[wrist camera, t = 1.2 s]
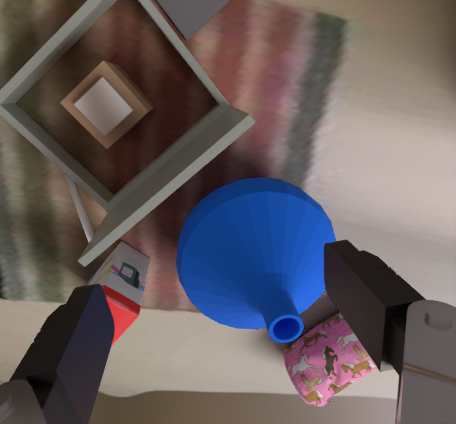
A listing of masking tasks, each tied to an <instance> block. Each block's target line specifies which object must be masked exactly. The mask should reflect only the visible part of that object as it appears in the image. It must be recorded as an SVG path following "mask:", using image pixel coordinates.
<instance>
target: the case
mask: <svg viewBox="0 0 456 424" xmlns="http://www.w3.org/2000/svg"><path fill="white" fill-rule="evenodd" d="M116 1H117V0H87V1H86V2H85V3H84V4H83V5H82V7H81V8H80V9H79V10H78V11H77V12H76V13H75V14H74V15H73V16H72V17H71V18H70V19H69V20H68V21H67V22H66V23H65V24H64V25H63V26H62V27H61V28H60V29H59V30H58V31H57V32H56V33H55V34H54V35H53V36H52V37H51V38H50V39H49V40H48V42H47V43H46V44H45V45H44V46H43V47H42V48H41V49H40V50H39V51H38V52H37V53H36V54H35V55H34V56H33V57H32V58H31V59H30V60H29V61H28V62H27V63H26V64H25V65H24V66H23V67H22V68H21V69H20V70H19V71H18V72H17V73H16V74H15V75H14V77H13V78H12V79H11V80H10V81H9V82H8V83H7V84H6V85H5V86H4V87H3V88H2V89H1V90H0V115H1V116H2V117H3V118H4V119H5V120H6V121H7V122H8V123H10V124H11V125H12V126H13V127H14V128H15V129H16V130H17V131H18V132H20V133H21V134H22V135H23V136H24V137H25V138H26V139H27V140H28V141H30V142H31V143H32V144H33V145H34V146H35V147H36V148H37V149H38V150H40V151H41V152H42V153H43V154H44V155H45V156H46V157H47V158H48V159H50V160H51V161H52V162H53V163H54V164H55V165H56V166H57V167H58V168H60V169H61V170H62V171H63V173H64V176H65V179H66V181H67V184H68V187H69V190H70V193H71V195H72V198H73V201H74V204H75V206H76V209H77V212H78V215H79V217H80V220H81V223H82V226H83V228H84V231H85V234H86V237H87V240H88V242H89V244H88V245H87V247H86V248H85V250H84V251H83V253H82V255H81V256H80V258H79V259H78V262H79V263H80V264H82V265H83V266H84V267H86V266H87V265H88V264H89V263H90V262H92V261H93V260H94V259H95V258H96V257H97V256H99V255H100V254H101V253H102V252H103V251H105V250H106V249H107V248H108V247H109V246H110V245H112V244H113V243H114V242H115V241H116V240H118V239H119V238H120V237H121V236H122V235H123V234H125V233H126V232H127V231H128V230H129V229H131V228H132V227H133V226H134V225H135V224H136V223H138V222H139V221H140V220H141V219H142V218H144V217H145V216H146V215H147V214H148V213H149V212H151V211H152V210H153V209H154V208H155V207H157V206H158V205H159V204H160V203H161V202H162V201H164V200H165V199H166V198H167V197H168V196H170V195H171V194H172V193H173V192H174V191H175V190H177V189H178V188H179V187H180V186H181V185H183V184H184V183H185V182H186V181H187V180H188V179H190V178H191V177H192V176H193V175H194V174H196V173H197V172H198V171H199V170H200V169H202V168H203V167H204V166H205V165H206V164H207V163H209V162H210V161H211V160H212V159H213V158H215V157H216V156H217V155H218V154H219V153H220V152H222V151H223V150H224V149H225V148H226V147H228V146H229V145H230V144H231V143H232V142H233V141H235V140H236V139H237V138H238V137H239V136H241V135H242V134H243V133H244V132H245V131H246V130H248V129H249V128H250V127H251V126H252V125H254V124H255V123H256V122H255V121H254V120H253V118H252V117H251V115H250V114H248V113H246V112H243V111H241V110H239V109H236V108H234V107H232V106H230V105H229V103H228V102H227V101H226V99H225V98H224V97H223V95H222V94H221V93H220V91H219V90H218V89H217V87H216V86H215V85H214V84H213V82H212V81H211V80H210V78H209V77H208V76H207V74H206V73H205V72H204V70H203V69H202V68H201V67H200V65H199V64H198V63H197V61H196V60H195V59H194V57H193V56H192V55H191V53H190V52H189V51H188V49H187V48H186V47H185V46H184V44H183V43H182V42H181V40H180V39H179V38H178V36H177V35H176V34H175V32H174V31H173V30H172V29H171V27H170V26H169V25H168V23H167V22H166V21H165V19H164V18H163V17H162V15H161V14H160V13H159V11H158V10H157V9H156V8H155V6H154V5H153V4H152V2H151V1H150V0H137V1H138V2H139V3H140V4H141V6H142V7H143V8H144V10H145V11H146V12H147V13H148V15H149V16H150V17H151V19H152V20H153V21H154V22H155V24H156V25H157V26H158V28H159V29H160V30H161V31H162V33H163V34H164V35H165V36H166V38H167V39H168V40H169V42H170V43H171V44H172V45H173V47H174V48H175V49H176V51H177V52H178V53H179V54H180V56H181V57H182V58H183V60H184V61H185V62H186V63H187V65H188V66H189V67H190V69H191V70H192V71H193V72H194V74H195V75H196V76H197V78H198V79H199V80H200V81H201V83H202V84H203V85H204V87H205V88H206V89H207V90H208V92H209V93H210V94H211V96H212V97H213V98H214V99H215V101H216V102H217V103H218V104H217V105H216V106H214V107H213V108H212V109H211V110H210V111H209V112H208V113H206V114H205V115H204V116H203V117H202V118H201V119H200V120H198V121H197V122H196V123H195V124H194V125H193V126H192V127H190V128H189V129H188V130H187V131H186V132H185V133H184V134H182V135H181V136H180V137H179V138H178V139H177V140H176V141H175V142H173V143H172V144H171V145H170V146H169V147H168V148H167V149H165V150H164V151H163V152H162V153H161V154H160V155H159V156H157V157H156V158H155V159H154V160H153V161H152V162H151V163H149V164H148V165H147V166H146V167H145V168H144V169H143V170H141V171H140V172H139V173H138V174H137V175H136V176H135V177H134V178H132V179H131V180H130V181H129V182H128V183H127V184H126V185H124V186H123V187H122V188H121V189H120V190H119V191H118V192H116V193H115V194H114V195H113V194H112V193H111V192H110V191H109V190H108V189H107V188H106V187H105V186H103V185H102V184H101V183H100V182H99V181H98V180H97V179H96V178H95V177H94V176H93V175H92V174H91V173H90V172H88V171H87V170H86V169H85V168H84V167H83V166H82V165H81V164H80V163H79V162H78V161H77V160H76V159H75V158H73V157H72V156H71V155H70V154H69V153H68V152H67V151H66V150H65V149H64V148H63V147H62V146H61V145H60V144H59V143H57V142H56V141H55V140H54V139H53V138H52V137H51V136H50V135H49V134H48V133H47V132H46V131H45V130H44V129H42V128H41V127H40V126H39V125H38V124H37V123H36V122H35V121H34V120H33V119H32V118H31V117H30V116H29V115H27V114H26V113H25V112H24V111H23V110H22V109H21V108H20V107H19V106H18V105H17V104H16V102H17V101H18V100H19V99H20V98H21V97H22V96H23V95H24V94H25V93H26V92H27V91H28V90H29V89H30V88H31V87H32V86H33V85H34V84H35V83H36V82H37V81H38V80H39V79H40V78H41V77H42V76H43V75H44V74H45V73H46V72H47V71H48V70H49V69H50V68H51V67H52V66H53V65H54V64H55V63H56V62H57V61H58V60H59V59H60V58H61V57H62V56H63V55H64V54H65V53H66V52H67V51H68V50H69V49H70V48H71V47H72V46H73V45H74V44H75V43H76V42H77V41H78V40H79V39H80V38H81V37H82V36H83V35H84V34H85V33H86V32H87V31H88V30H89V29H90V28H91V27H92V25H93V24H94V23H95V22H96V21H97V20H98V19H99V18H100V17H101V16H102V15H103V14H104V13H105V12H106V11H107V10H108V9H109V8H110V7H111V6H112V5H113V4H114V3H115V2H116ZM76 184H77V185H78V186H80V187H81V188H82V189H83V190H84V191H85V192H86V193H87V194H88V195H90V196H91V197H92V198H93V199H94V200H95V201H96V202H97V203H98V204H100V205H101V206H102V207H103V208H104V209H105V210H106V211H107V212H108V214H107V215H106V217H105V218H104V220H103V221H102V223H101V225H100V226H99V228H98V229H97V231H96V233H94V231H93V228H92V225H91V223H90V220H89V217H88V215H87V212H86V210H85V207H84V204H83V202H82V199H81V196H80V194H79V191H78V189H77V186H76Z"/></svg>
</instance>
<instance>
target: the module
mask: <svg viewBox="0 0 456 424" xmlns="http://www.w3.org/2000/svg"><path fill="white" fill-rule="evenodd" d="M60 103H61V104H62V105H63V106H64V107H65V108H66V109H67V110H68V111H69V112H70V113H71V114H72V115H73V116H74V117H75V118H76V119H77V120H78V121H79V122H80V123H81V124H82V125H83V126H84V127H85V128H86V129H87V130H88V131H89V132H90V133H91V134H92V135H93V136H94V137H95V138H96V139H97V140H98V141H99V142H100V143H101V144H102V145H103V146H104V147H105V148H106V149H108V148H109V147H111V146H112V145H113V144H115V143H116V142H117V141H118V140H120V139H121V138H122V137H123V136H124V135H125V134H126V133H128V132H129V131H130V130H131V129H132V128H133V127H134V126H135V125H136V124H137V123H139V122H140V121H141V120H142V119H143V118H144V117H145V116H146V115H147V114H148V113H150V112H151V111H152V110H153V109H154V108H155V106H154V104H153V103H152V102H151V101H150V100H149V99H148V98H147V96H146V95H145V94H144V93H143V92H142V91H141V90H140V88H139V87H138V86H137V85H136V84H135V83H134V82H133V80H132V79H131V78H130V77H129V76H128V75H127V73H126V72H125V71H124V70H123V69H122V68H121V67H120V65H116V64H113V63H110V62H107V61H104V60H103V61H102V62H101V63H100V64H99V65H98V66H97V67H96V68H95V69H94V70H93V71H92V72H91V73H90V74H89V75H88V76H87V77H86V78H85V79H84V80H83V81H82V82H81V83H80V84H79V85H78V86H76V87H75V88H74V89H73V90H72V91H71V92H70V93H69V94H68V95H67V96H66V97H65V98H64V99H63V100H62V101H61V102H60Z"/></svg>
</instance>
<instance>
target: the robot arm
mask: <svg viewBox="0 0 456 424" xmlns="http://www.w3.org/2000/svg"><path fill="white" fill-rule="evenodd" d="M324 284H325V288H326V291H327V293H328V295H329V297H330V298H331V300H332V301H333V303H334V304H335V306H336V307H337V309H338V310H339V312H340V313H341V315H342V316H343V318H344V319H345V321H346V322H347V324H348V325H349V327H350V328H351V329H352V331H353V332H354V334H355V335H356V337H357V338H358V340H359V341H360V343H361V344H362V346H363V347H364V349H365V350H366V352H367V353H368V355H369V356H370V358H371V359H372V360H373V362H374V363H375V365H376V366H377V368H378V369H379V371H380V372H382V371H386V370H391V369H395V370H396V372H397V373H398V375H399V382H398V394H397V406H396V417H395V424H456V307H454V306H452V305H449V304H447V303H444V302H440V301H434V300H426V299H425V298H424V297H423V296H421V295H420V294H419V293H418V292H417V291H416V290H415V289H414V288H412V287H411V286H410V285H409V284H408V283H407V282H406V281H405V280H403V279H402V278H401V277H400V276H399V275H396V272H394V271H393V270H392V269H391V268H390V267H388V265H387V264H385V263H384V262H383V261H382V260H381V259H380V258H379V257H377V256H375V255H373V254H371V253H369V252H366V251H364V250H363V251H358V250H357V249H356V248H355V247H354V246H353V245H352V244H351V243H350V242H349V241H348V240H341V241H335V242H330V243H325V245H324ZM40 330H41V331H40V332H39V333H38V334H37V336H36V337H35V339H34V343H32V344H31V346H30V347H29V349H28V351H27V352H26V354H25V356H24V357H23V359H22V361H21V362H20V364H19V365H18V367H17V369H16V370H15V372H14V374H13V375H12V377H11V379H10V380H9V381H8V382H5V383H3V384H1V385H0V424H88V423H89V420H90V416H91V413H92V409H93V406H94V403H95V399H96V396H97V393H98V389H99V386H100V382H101V379H102V376H103V372H104V369H105V365H106V362H107V359H108V355H109V352H110V348H111V345H112V342H113V338H114V333H115V325H114V319H113V316H112V313H111V310H110V307H109V304H108V302H107V299H106V296H105V293H104V290H103V288H102V286H101V285H100V284H92V285H87V286H81V287H76V288H75V289H74V290H73V292H72V294H71V296H70V297H69V299H68V301H67V303H66V304H64V305H60V306H59V307H58V308H57V309H56V310H55V311H54V312H53V313H52V314H51V315H50V316H48V318H47V319H46V321H45V323H44V324H43V326H42V328H41V329H40Z"/></svg>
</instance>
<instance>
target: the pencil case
mask: <svg viewBox="0 0 456 424" xmlns="http://www.w3.org/2000/svg"><path fill="white" fill-rule="evenodd" d="M283 352H284V360H285V366H286V369H287V372H288V374H289V376H290V379H291V381H292V383H293V385H294V386H295V388H296V390H297V392H298V393H299V395H300V396H301V398H302V399H303V400H304V401H305V402H306V403H308V404H311V405H316V406H324V405H325V404H326V403H328V404H330V403H331V402H332V397H333V395H334V394H336V393H338V392H340V391H341V390H343V389H344V388H346V387H347V386H348V385H350V384H352V383H353V382H355V381H356V380H358V379H360V378H362V377H364V376H365V375H367V374H369V373H371V372H372V371H374V370H375V369H377V366H376V365H375V363H374V362H373V360H372V359H371V358H370V356H369V355H368V353H367V352H366V350H365V349H364V347H363V346H362V344H361V343H360V341H359V340H358V338H357V337H356V335H355V334H354V332H353V331H352V329H351V328H350V327H349V325H348V324H347V322H346V321H345V319H344V318H343V316H342V315H341V313H340V312H339V313H337V314H336V315H334V316H332V317H331V318H329V319H327V320H325V321H323V322H322V323H320V324H318V325H317V326H316V327H314V328H313V329H312V330H310V331H309V332H308V333H306V334H305V335H304V336H302V337H301V338H300V339H298V340H297V341H296V342H295V343H294V344H293V345H292V346H291V347H287V348H285V349H284V351H283Z"/></svg>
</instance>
